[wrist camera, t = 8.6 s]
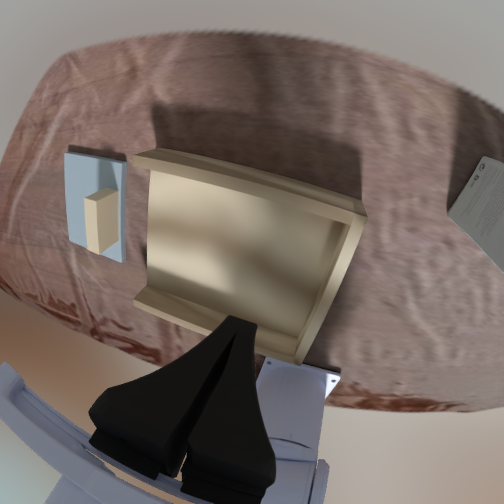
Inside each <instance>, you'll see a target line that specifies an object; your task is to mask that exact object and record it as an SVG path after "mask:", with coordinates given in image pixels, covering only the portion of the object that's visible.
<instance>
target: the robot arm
mask: <svg viewBox="0 0 504 504" xmlns="http://www.w3.org/2000/svg"><path fill="white" fill-rule="evenodd" d="M257 328H258V326H257V324H256V323H253V322H250V321H247V320H244V319H241V318H238V317H235V316H232V315H229V316H227V317H226V318H225V319H224V321H223V322H222V323H221V324H220V325H219V326H218V327H217V328H216V329H215V330H214V331H213V332H212V333H211V334H209V335H208V336H207V337H206V338H205V339H204V340H202V341H201V342H200V343H199V344H198V345H196V346H195V347H194V348H192V349H191V350H189V351H188V352H187V353H185V354H184V355H182V356H181V357H179V358H178V359H176V360H175V361H173V362H171V363H170V364H168V365H166V366H164V367H162V368H160V369H159V370H156V371H154V372H153V373H150V374H148V375H146V376H143V377H140V378H138V379H136V380H133V381H130V382H127V383H124V384H121V385H117V386H114V387H110V388H108V389H107V390H105V391H104V392H103V393H102V395H100V396H99V397H98V399H97V400H96V401H95V403H94V404H93V405H92V407H91V408H90V410H89V412H88V413H89V416H90V418H91V420H92V421H93V423H94V425H95V426H96V428H97V429H96V431H95V432H94V434H93V435H90V434H89V433H87V432H86V431H84V430H83V429H81V428H80V427H78V426H77V425H75V424H74V423H73V422H71V421H70V420H68V419H67V418H66V417H64V416H63V415H62V414H60V413H59V412H58V411H56V410H55V409H54V408H53V407H51V406H50V405H49V404H47V403H46V402H45V401H44V400H43V399H41V398H40V397H39V396H38V395H37V394H35V393H34V392H33V391H32V390H31V389H30V388H29V387H28V386H27V385H26V384H25V382H24V380H23V379H22V378H21V376H20V375H19V374H18V373H17V372H16V371H15V370H14V369H13V368H12V367H11V366H10V365H9V364H8V363H7V362H4V363H3V364H2V365H1V366H0V418H1V419H2V420H3V421H4V422H5V423H6V424H7V425H8V427H9V428H10V429H11V430H12V431H13V432H14V433H15V434H16V435H17V436H18V437H19V438H20V439H21V440H22V441H24V443H25V444H27V445H28V446H29V447H30V448H31V449H32V450H33V451H34V452H36V454H38V455H39V456H40V457H41V458H42V459H43V460H45V461H46V462H47V463H48V464H49V465H51V466H52V467H53V468H54V469H56V470H57V471H58V472H59V473H61V474H62V477H61V478H60V480H59V481H58V483H57V484H56V486H55V488H54V489H53V491H52V492H51V494H50V495H49V497H48V499H47V500H46V502H45V503H44V504H173V503H170V502H168V501H166V500H163V499H161V498H159V497H157V496H154V495H152V494H150V493H148V492H146V491H144V490H142V489H140V488H138V487H136V486H134V485H132V484H130V483H128V482H126V481H124V480H122V479H120V478H118V477H116V476H115V474H114V473H113V472H112V471H111V470H109V469H108V468H107V467H106V466H105V464H104V463H103V462H102V461H101V460H99V459H98V458H96V457H95V456H94V455H92V454H91V453H93V454H95V455H96V456H98V457H99V458H101V459H103V460H104V461H106V462H107V463H109V464H111V465H113V466H114V467H116V468H118V469H120V470H122V471H123V472H125V473H127V474H129V475H131V476H133V477H135V478H137V479H139V480H141V481H143V482H145V483H147V484H149V485H151V486H153V487H155V488H158V489H160V490H162V491H164V492H167V493H169V494H171V495H174V496H176V497H179V498H181V499H184V500H186V501H189V502H192V503H195V504H323V502H324V497H325V492H326V487H327V481H328V474H329V465H328V464H327V463H325V460H324V459H319V460H318V465H317V456H318V445H319V439H320V433H321V426H322V419H323V411H324V403H325V398H326V397H327V396H328V395H329V393H330V392H331V391H332V389H333V388H334V387H335V385H336V384H337V383H338V381H339V380H340V378H341V375H340V374H339V373H336V372H332V371H328V370H324V369H321V368H317V367H313V366H309V365H306V364H301V366H297V365H293V364H290V363H286V362H283V361H280V360H276V359H273V358H270V357H267V356H266V358H265V361H264V363H263V366H262V369H261V371H260V374H259V376H258V379H257V381H255V368H254V346H255V336H256V331H257ZM269 361H270V362H269ZM333 379H334V380H333ZM85 449H87V450H88V451H90V452H91V453H90V452H88V451H87V450H85ZM186 453H187V457H186V459H185V462H184V464H183V466H182V468H181V470H180V467H181V465H182V463H183V460H184V458H185V455H186ZM316 466H317V469H316ZM179 470H180V471H181V472H182V481H178V480H176V479H173V478H175V477H177V475H178V472H179Z"/></svg>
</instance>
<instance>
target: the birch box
mask: <svg viewBox="0 0 504 504" xmlns="http://www.w3.org/2000/svg"><path fill="white" fill-rule="evenodd" d="M133 166H135V167H139V168H144V169H149V170H151V176H150V189H149V206H148V231H147V285H146V286H145V287H144V288H143V289H142V290H141V292H140V293H139V294H138V295H137V296H136V297H135V298H134V299H133V303H134V306H136V307H138V308H140V309H142V310H145V311H147V312H149V313H151V314H154V315H156V316H158V317H161V318H163V319H165V320H168V321H170V322H173V323H175V324H178V325H180V326H183V327H185V328H188V329H190V330H193V331H195V332H198V333H201V334H203V335H206V336H208V335H209V334H211V333H212V332H213V331H214V330H215V329H216V328H217V327H218V326H219V325H220V324H221V323H222V322H223V321H224V319H225V318H226V317H227V316H229V315H232V316H235V317H238V318H241V319H244V320H247V321H250V322H253V323H256V324H257V326H258V328H257V331H256V336H255V346H254V353H257V354H260V355H263V356H267V357H270V358H273V359H276V360H280V361H283V362H286V363H290V364H293V365H297V366H301V364H302V362H303V360H304V358H305V356H306V354H307V352H308V350H309V349H310V347H311V345H312V343H313V341H314V339H315V337H316V335H317V333H318V331H319V329H320V327H321V325H322V323H323V321H324V319H325V317H326V315H327V312H328V310H329V308H330V306H331V304H332V302H333V300H334V297H335V295H336V293H337V291H338V289H339V286H340V284H341V282H342V280H343V277H344V275H345V273H346V271H347V268H348V266H349V264H350V261H351V259H352V256H353V254H354V252H355V249H356V247H357V244H358V242H359V239H360V237H361V234H362V232H363V229H364V226H365V224H366V221H367V219H368V217H367V214H366V211H365V208H364V205H363V202H362V201H361V200H359V199H356V198H353V197H350V196H347V195H344V194H341V193H338V192H335V191H332V190H328V189H325V188H322V187H319V186H316V185H312V184H309V183H306V182H302V181H299V180H296V179H292V178H289V177H285V176H281V175H278V174H274V173H271V172H267V171H263V170H259V169H255V168H252V167H248V166H244V165H240V164H235V163H231V162H227V161H223V160H218V159H214V158H210V157H205V156H200V155H196V154H191V153H186V152H181V151H176V150H171V149H165V148H156V149H153V150H149V151H145V152H142V153H138V154H135V155H133Z"/></svg>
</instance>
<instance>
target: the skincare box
mask: <svg viewBox="0 0 504 504" xmlns="http://www.w3.org/2000/svg"><path fill="white" fill-rule="evenodd" d="M447 216H448V218H449V219H450V220H452V221H453V222H454V223H455V224H456V225H457V226H458V227H459V228H460V229H461V230H462V231H463V232H464V233H465V234H466V235H468V236H469V237H470V238H471V239H472V240H473V241H474V242H475V243H476V244H477V246H478V247H479V248H480V249H481V250H482V251H483V252H484V253H485V254H486V255H487V256H488V257H489V258H490V260H491V261H492V262H493V263H494V264H495V265H496V266H497V267H498V268H499V270H500V271H501V272H502V273H503V274H504V163H503V162H500V161H498V160H495V159H492V158H489V157H486V156H483V157H482V159H481V160H480V162H479V164H478V165H477V167H476V169H475V171H474V173H473V175H472V176H471V178H470V179H469V181H468V183H467V184H466V186H465V187H464V189H463V190H462V192H461V193H460V195H459V196H458V198H457V199H456V201H455V202H454V204H453V205H452V207H451V208H450V210H449V211H448V213H447Z"/></svg>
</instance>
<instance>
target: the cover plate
mask: <svg viewBox="0 0 504 504" xmlns="http://www.w3.org/2000/svg"><path fill="white" fill-rule="evenodd" d="M126 171H127V162H125V161H120V160H115V159H110V158H105V157H99V156H94V155H88V154H83V153H77V152H71V151H69V152H66V153H65V195H66V210H67V222H68V232H69V240H70V241H72V242H74V243H76V244H78V245H81V246H83V247H85V248H87V249H88V250H89V251H92V252H94V253H96V254H99V255H100V254H101V255H104V256H106V257H108V258H111V259H113V260H116V261H118V262H120V263H123V262H124V261H125V260H126V247H125V195H126Z"/></svg>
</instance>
